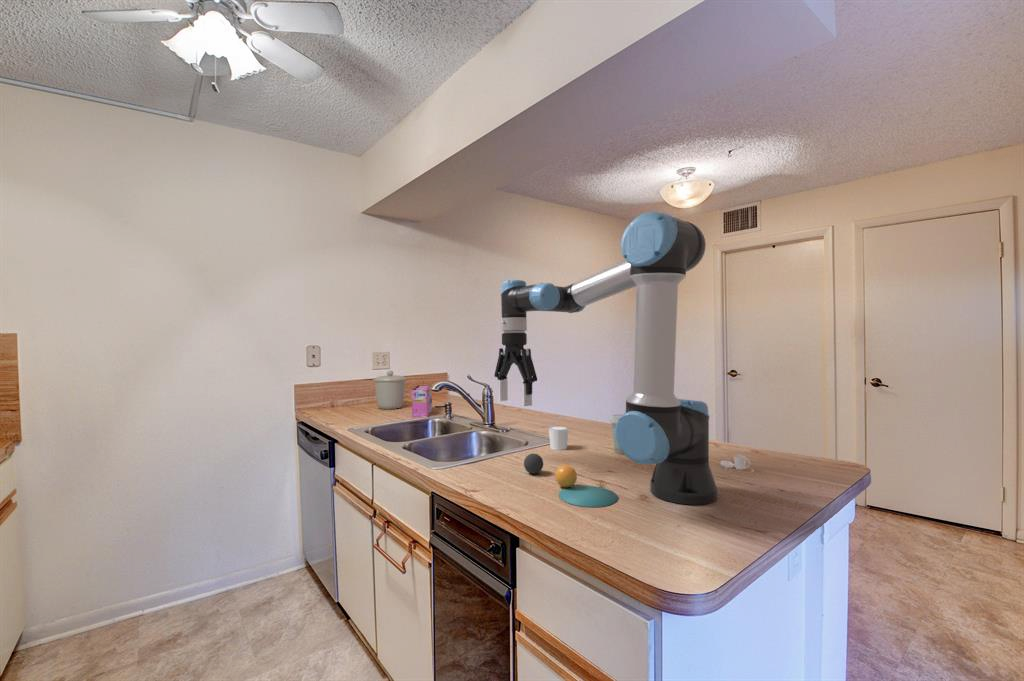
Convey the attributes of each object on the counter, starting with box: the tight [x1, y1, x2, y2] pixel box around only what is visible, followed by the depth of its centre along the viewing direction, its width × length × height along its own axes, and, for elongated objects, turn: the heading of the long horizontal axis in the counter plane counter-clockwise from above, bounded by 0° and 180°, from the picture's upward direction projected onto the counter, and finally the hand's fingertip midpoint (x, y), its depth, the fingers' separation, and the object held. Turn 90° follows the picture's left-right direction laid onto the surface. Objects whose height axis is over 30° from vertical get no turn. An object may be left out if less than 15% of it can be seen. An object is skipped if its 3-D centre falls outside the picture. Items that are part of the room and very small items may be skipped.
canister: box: [372, 370, 407, 410], centre depth 245 cm, size 18×18×21 cm
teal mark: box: [558, 485, 619, 508], centre depth 105 cm, size 14×14×1 cm
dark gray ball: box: [523, 453, 544, 475], centre depth 124 cm, size 6×6×6 cm
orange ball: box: [554, 464, 578, 489], centre depth 112 cm, size 6×6×6 cm
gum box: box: [411, 384, 433, 418], centre depth 227 cm, size 24×8×14 cm, turn 5°
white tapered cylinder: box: [548, 425, 569, 451], centre depth 152 cm, size 7×7×7 cm
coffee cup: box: [610, 413, 625, 455], centre depth 145 cm, size 8×8×12 cm
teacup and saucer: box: [719, 454, 751, 471], centre depth 126 cm, size 9×8×4 cm
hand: (514, 403), depth 132 cm, fingers open, 12 cm apart
